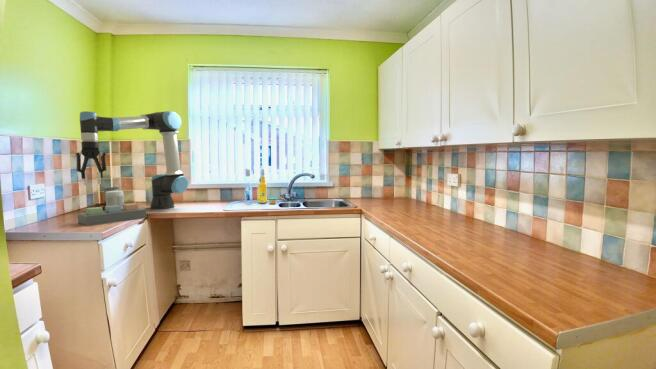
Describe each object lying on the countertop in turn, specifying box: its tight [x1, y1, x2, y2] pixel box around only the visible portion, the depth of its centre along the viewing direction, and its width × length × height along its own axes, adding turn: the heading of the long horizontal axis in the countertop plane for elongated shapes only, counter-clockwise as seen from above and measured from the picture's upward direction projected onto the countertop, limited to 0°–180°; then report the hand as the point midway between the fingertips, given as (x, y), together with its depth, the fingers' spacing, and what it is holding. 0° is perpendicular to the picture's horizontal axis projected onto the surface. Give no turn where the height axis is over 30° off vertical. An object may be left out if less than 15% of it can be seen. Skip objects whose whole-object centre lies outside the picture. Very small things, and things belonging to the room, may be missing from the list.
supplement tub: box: [105, 190, 125, 209], centre depth 212 cm, size 10×10×15 cm
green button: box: [85, 206, 104, 215], centre depth 189 cm, size 6×6×4 cm
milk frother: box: [93, 186, 120, 211], centre depth 235 cm, size 14×16×15 cm
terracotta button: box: [122, 202, 139, 211], centre depth 203 cm, size 6×6×4 cm
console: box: [77, 207, 148, 227], centre depth 196 cm, size 30×14×5 cm, turn 140°
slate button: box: [104, 205, 121, 213], centre depth 196 cm, size 6×6×4 cm
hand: (92, 184), depth 188 cm, fingers open, 6 cm apart
